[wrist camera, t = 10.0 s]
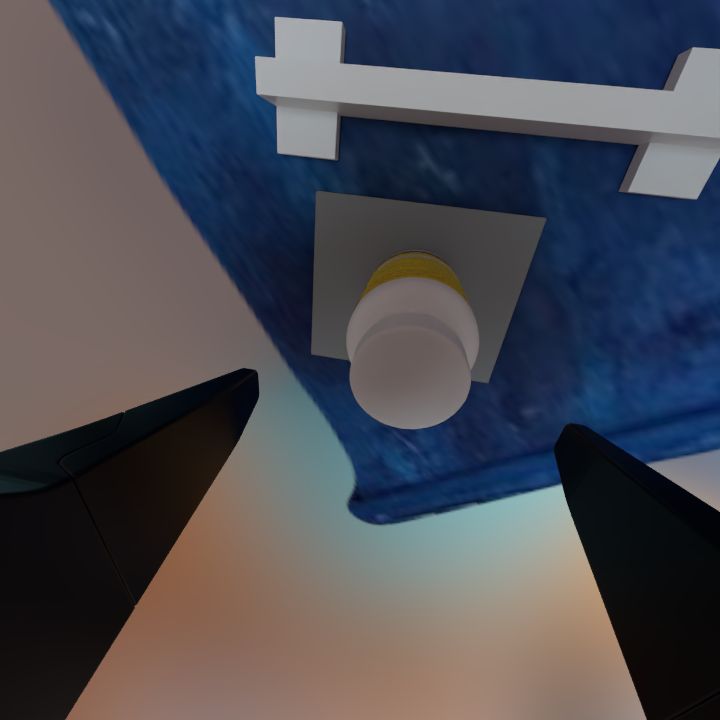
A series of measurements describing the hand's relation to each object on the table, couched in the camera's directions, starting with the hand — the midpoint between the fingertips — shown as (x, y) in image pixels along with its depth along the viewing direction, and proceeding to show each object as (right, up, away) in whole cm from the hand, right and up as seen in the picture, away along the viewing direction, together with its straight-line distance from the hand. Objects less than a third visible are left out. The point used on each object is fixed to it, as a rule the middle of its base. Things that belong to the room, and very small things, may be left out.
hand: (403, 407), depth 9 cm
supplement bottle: (+2, +5, +10) cm, 11 cm away
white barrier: (+5, +13, +6) cm, 15 cm away
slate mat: (+2, +5, +10) cm, 12 cm away
